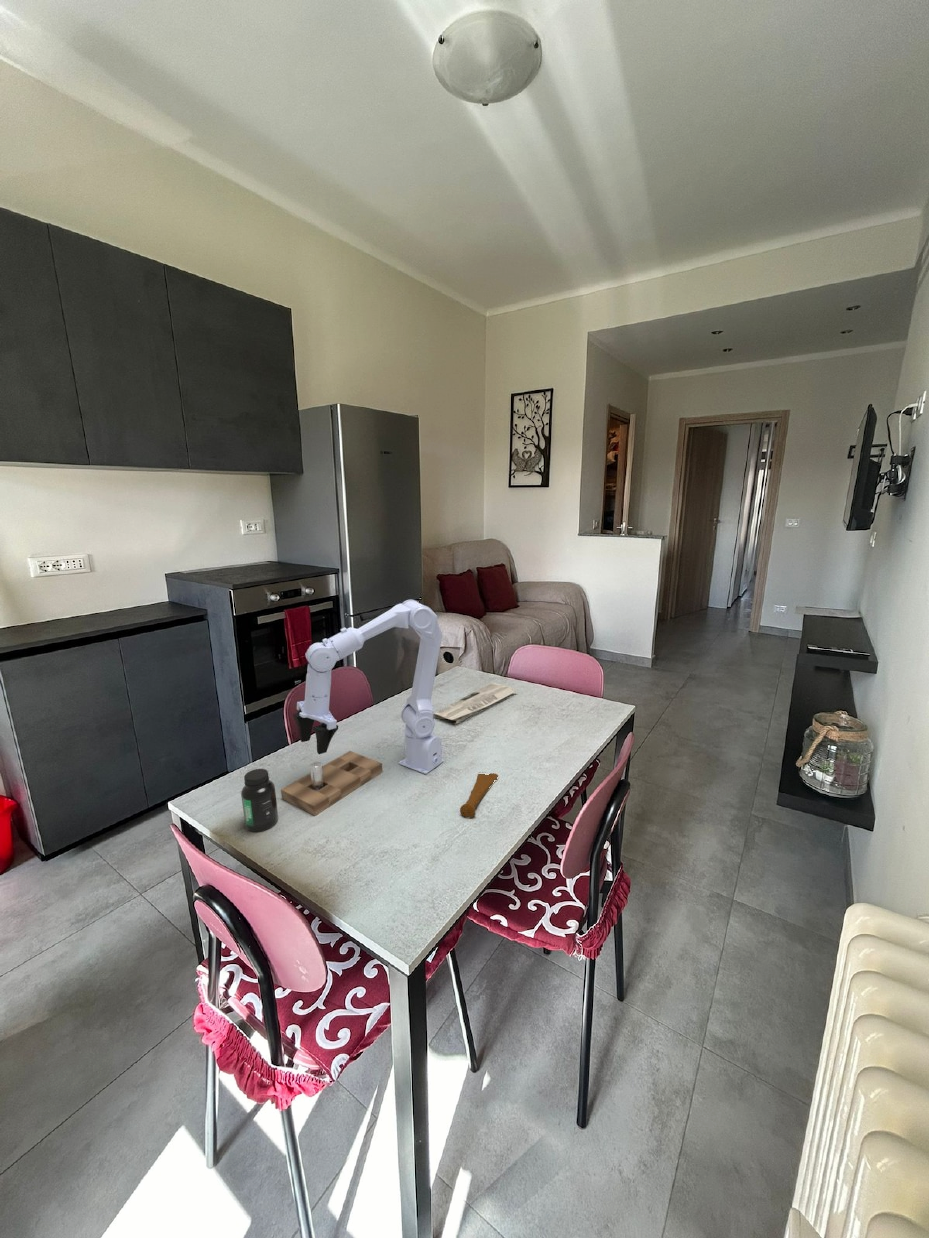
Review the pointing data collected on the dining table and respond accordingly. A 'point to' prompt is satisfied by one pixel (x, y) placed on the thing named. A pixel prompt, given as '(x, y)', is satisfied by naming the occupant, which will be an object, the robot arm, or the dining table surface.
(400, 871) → the dining table surface
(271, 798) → the supplement bottle
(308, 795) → the tool stand
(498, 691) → the newspaper
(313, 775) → the steel peg
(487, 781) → the primitive tool
